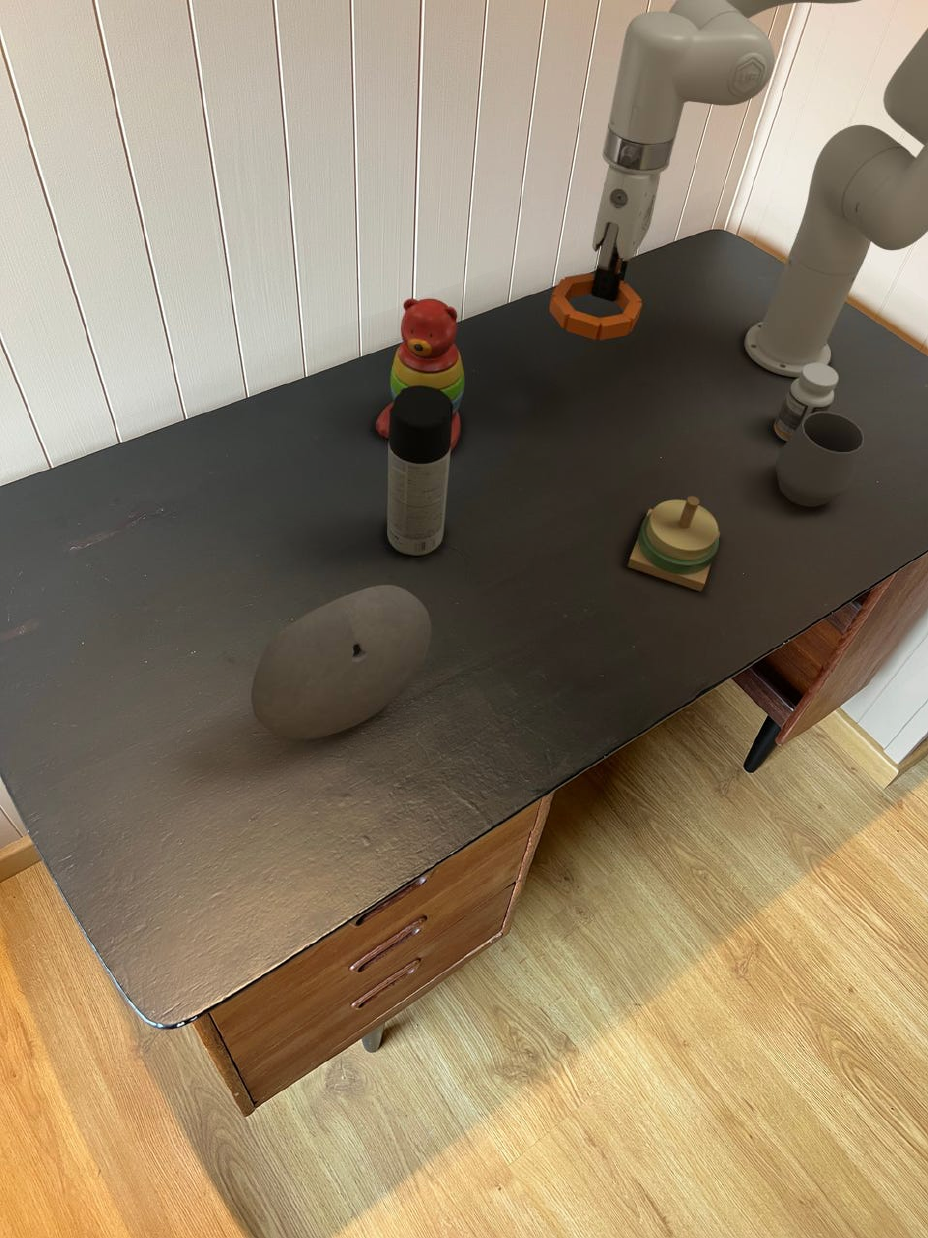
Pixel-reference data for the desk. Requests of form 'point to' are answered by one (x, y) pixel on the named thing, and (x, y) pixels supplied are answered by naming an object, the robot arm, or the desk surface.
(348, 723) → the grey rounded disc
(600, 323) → the orange ring
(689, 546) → the stacker
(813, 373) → the pill bottle
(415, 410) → the spray can
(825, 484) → the cup
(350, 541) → the desk surface
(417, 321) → the stacking bear
